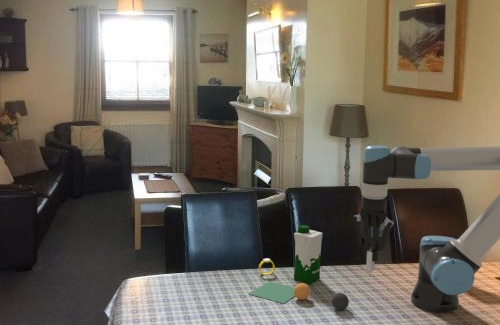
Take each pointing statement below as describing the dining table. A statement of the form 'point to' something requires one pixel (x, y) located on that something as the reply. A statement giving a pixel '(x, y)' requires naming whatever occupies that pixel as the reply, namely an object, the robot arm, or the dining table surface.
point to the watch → (266, 262)
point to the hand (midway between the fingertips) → (370, 270)
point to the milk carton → (307, 255)
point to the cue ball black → (340, 301)
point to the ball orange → (301, 291)
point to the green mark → (274, 292)
